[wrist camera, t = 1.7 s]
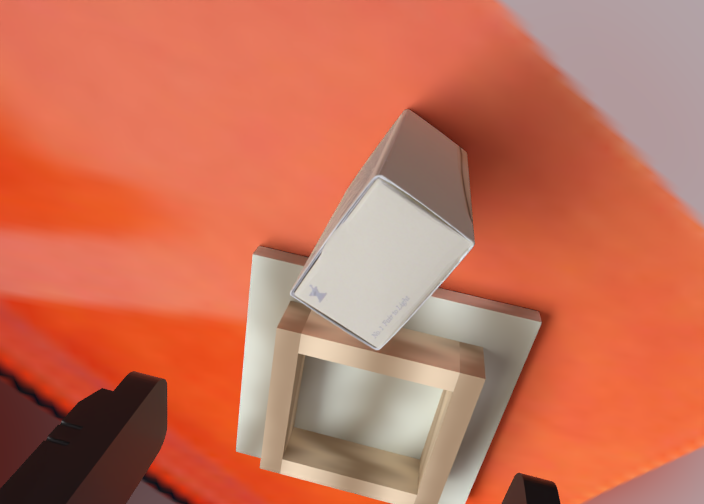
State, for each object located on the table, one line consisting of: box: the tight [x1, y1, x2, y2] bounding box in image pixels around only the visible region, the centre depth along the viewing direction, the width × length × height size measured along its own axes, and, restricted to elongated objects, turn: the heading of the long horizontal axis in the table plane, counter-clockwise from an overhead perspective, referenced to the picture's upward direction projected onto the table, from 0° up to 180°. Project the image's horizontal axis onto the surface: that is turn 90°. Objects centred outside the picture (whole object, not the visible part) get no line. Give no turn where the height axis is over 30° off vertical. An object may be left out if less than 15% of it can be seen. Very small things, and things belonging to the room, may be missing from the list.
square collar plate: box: [236, 246, 542, 504], centre depth 35 cm, size 18×18×4 cm
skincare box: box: [290, 109, 475, 350], centre depth 24 cm, size 6×4×12 cm
